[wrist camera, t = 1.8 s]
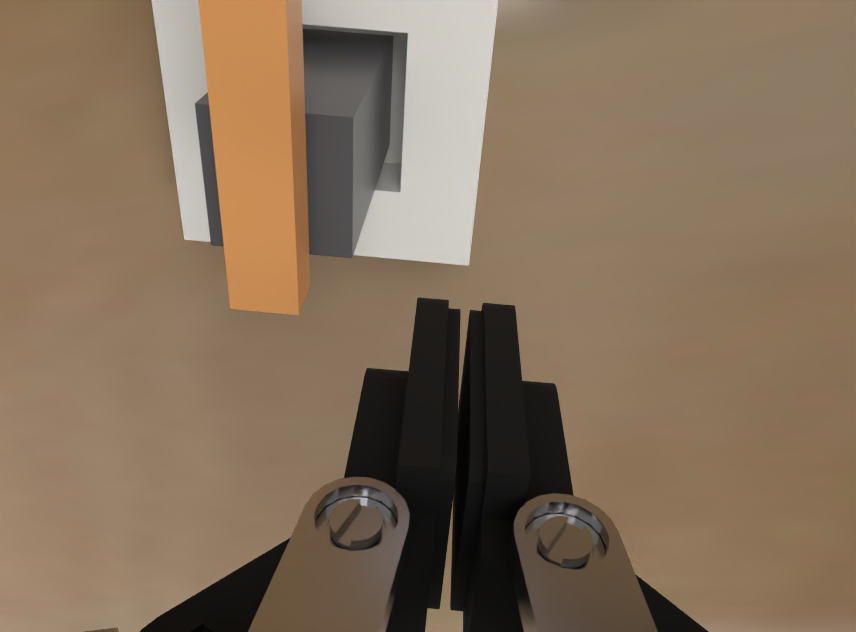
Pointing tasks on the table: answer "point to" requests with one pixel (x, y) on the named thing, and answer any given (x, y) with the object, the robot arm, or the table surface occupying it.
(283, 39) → the orange piece
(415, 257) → the socket block
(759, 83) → the table surface
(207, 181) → the plug
